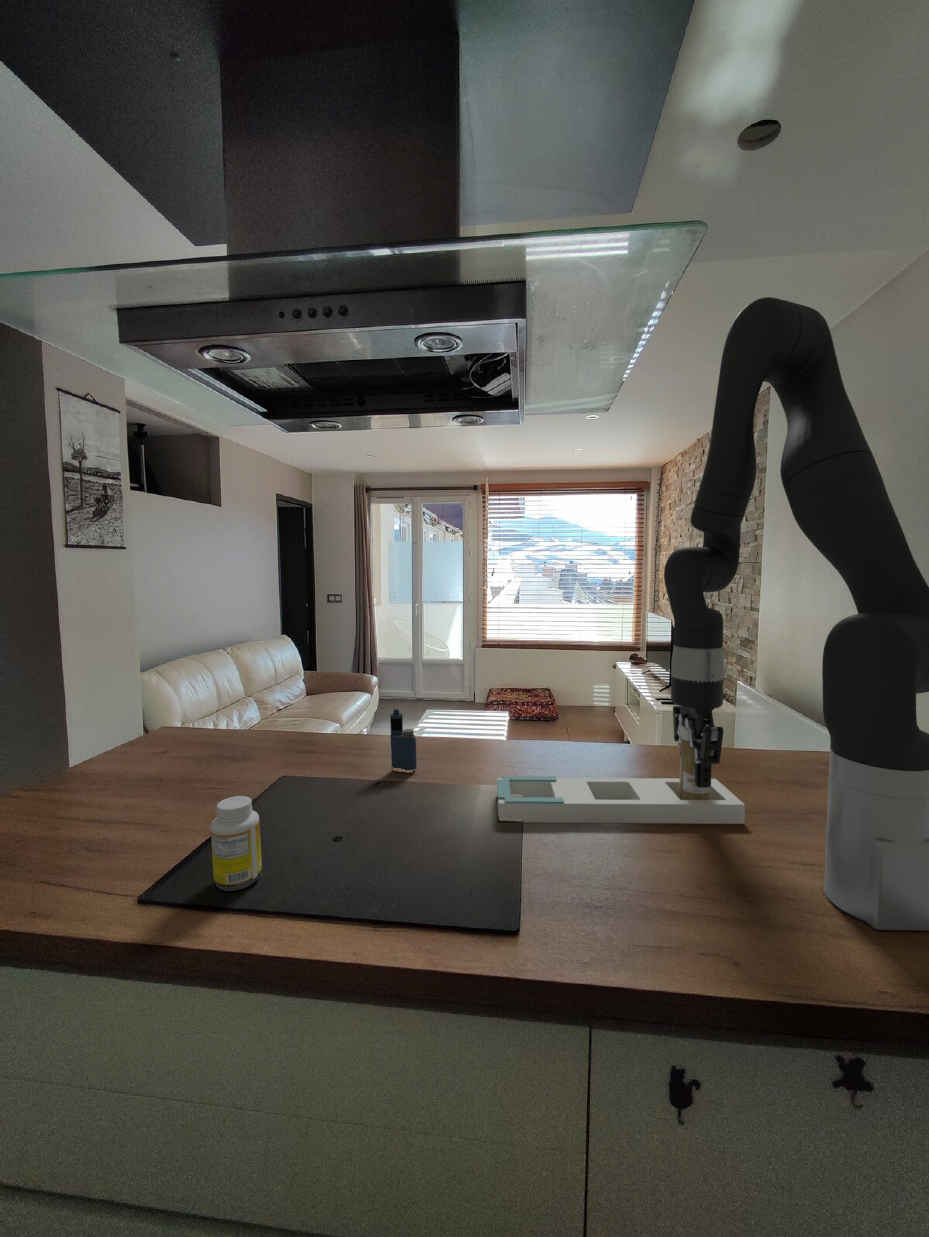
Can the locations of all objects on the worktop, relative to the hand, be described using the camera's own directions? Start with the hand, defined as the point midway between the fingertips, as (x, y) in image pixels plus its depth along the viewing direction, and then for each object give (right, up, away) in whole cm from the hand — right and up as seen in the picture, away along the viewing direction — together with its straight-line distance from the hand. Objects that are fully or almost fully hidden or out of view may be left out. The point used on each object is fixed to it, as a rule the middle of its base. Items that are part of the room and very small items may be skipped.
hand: (694, 778), depth 82 cm
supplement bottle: (-65, -7, -18) cm, 68 cm away
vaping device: (-49, -4, +18) cm, 52 cm away
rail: (-13, -5, +1) cm, 14 cm away
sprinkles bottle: (0, -5, 0) cm, 5 cm away
